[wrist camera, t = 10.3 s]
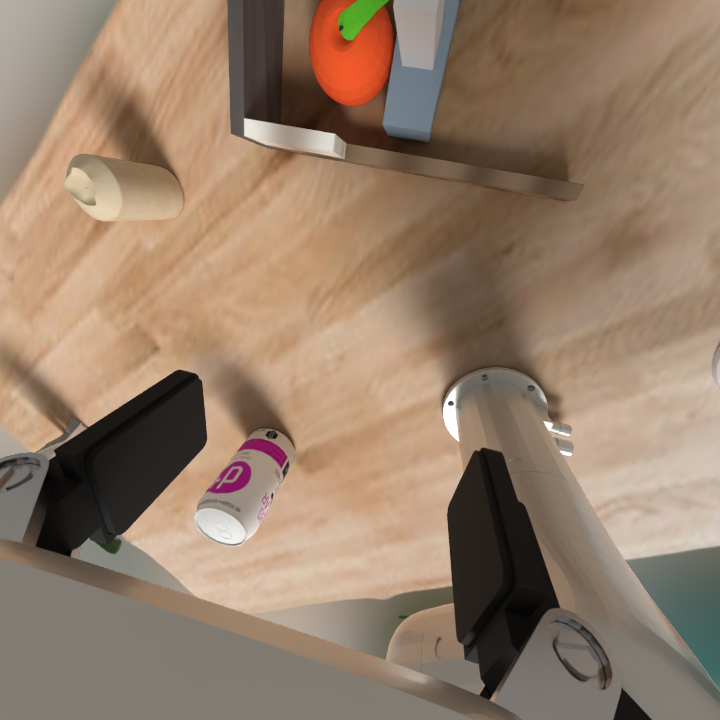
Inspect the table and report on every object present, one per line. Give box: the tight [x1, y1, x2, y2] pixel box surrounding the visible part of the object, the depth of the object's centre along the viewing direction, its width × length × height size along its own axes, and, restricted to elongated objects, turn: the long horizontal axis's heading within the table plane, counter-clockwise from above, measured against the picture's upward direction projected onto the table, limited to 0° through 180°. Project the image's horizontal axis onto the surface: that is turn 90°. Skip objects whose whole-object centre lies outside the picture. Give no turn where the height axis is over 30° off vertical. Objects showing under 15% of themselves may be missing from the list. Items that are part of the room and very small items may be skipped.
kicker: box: [382, 0, 461, 143], centre depth 21 cm, size 4×10×12 cm, turn 171°
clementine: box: [309, 0, 395, 106], centre depth 24 cm, size 8×7×7 cm
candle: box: [64, 154, 184, 221], centre depth 32 cm, size 6×6×10 cm
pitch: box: [227, 0, 583, 201], centre depth 24 cm, size 30×15×7 cm, turn 81°
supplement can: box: [194, 429, 295, 547], centre depth 44 cm, size 8×8×15 cm
